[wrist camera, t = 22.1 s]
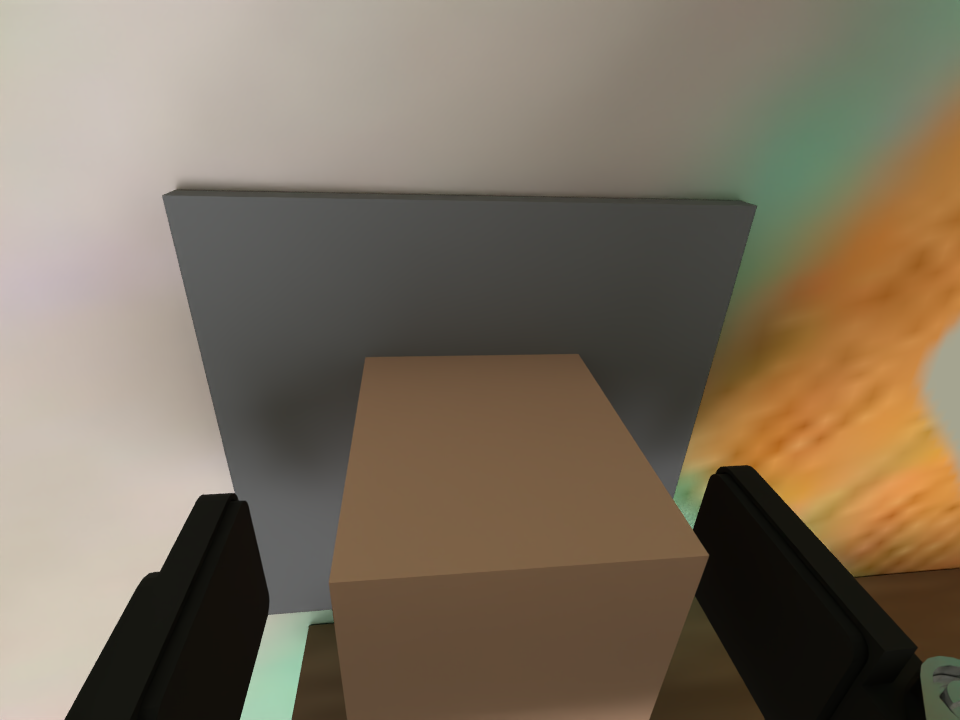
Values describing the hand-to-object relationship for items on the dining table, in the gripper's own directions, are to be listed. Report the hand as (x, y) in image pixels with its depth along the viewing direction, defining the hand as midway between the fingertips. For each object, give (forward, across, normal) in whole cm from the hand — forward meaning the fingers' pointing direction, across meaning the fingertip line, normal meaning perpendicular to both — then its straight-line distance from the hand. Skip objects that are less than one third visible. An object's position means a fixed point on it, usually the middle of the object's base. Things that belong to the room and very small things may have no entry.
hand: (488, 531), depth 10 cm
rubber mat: (+4, 0, 0) cm, 4 cm away
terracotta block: (+3, 0, 0) cm, 3 cm away
